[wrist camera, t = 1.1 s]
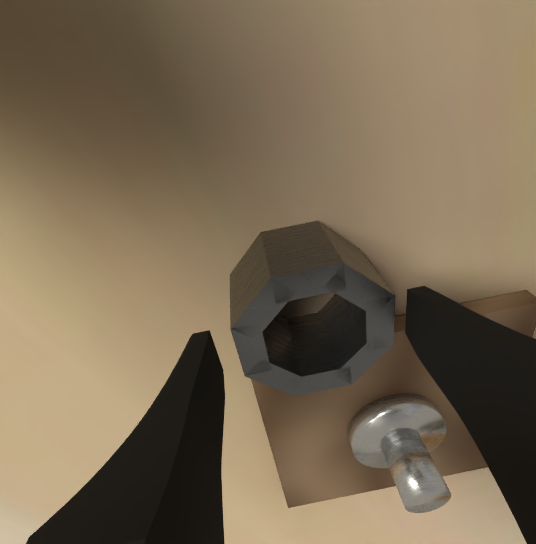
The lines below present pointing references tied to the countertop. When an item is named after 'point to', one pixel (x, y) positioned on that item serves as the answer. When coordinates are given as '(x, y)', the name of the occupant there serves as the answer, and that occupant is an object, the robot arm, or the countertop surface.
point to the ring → (315, 327)
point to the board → (350, 399)
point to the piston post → (403, 446)
